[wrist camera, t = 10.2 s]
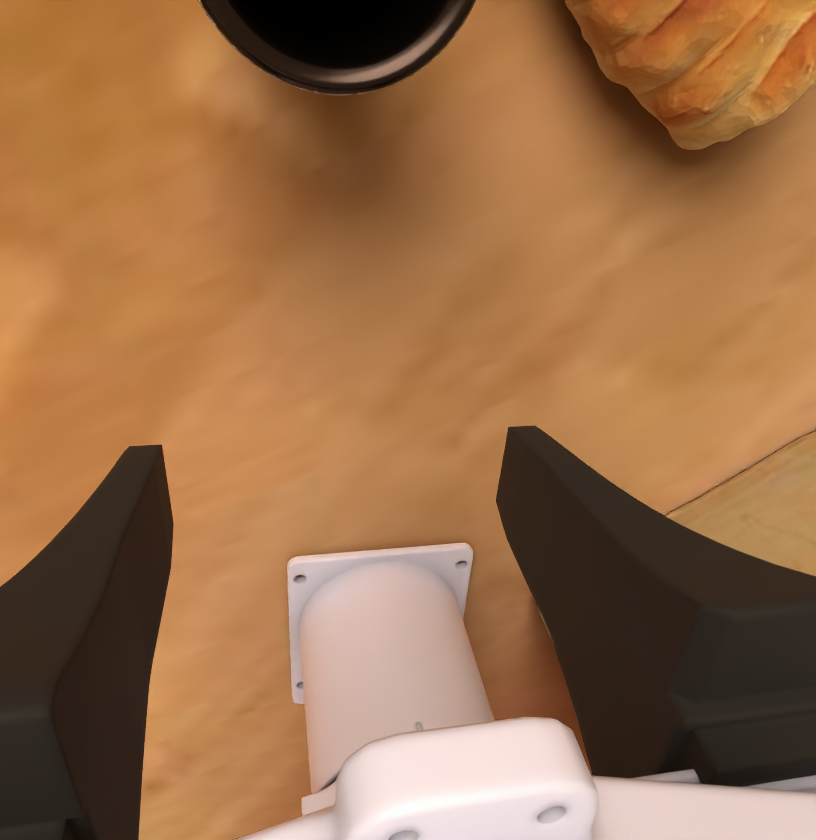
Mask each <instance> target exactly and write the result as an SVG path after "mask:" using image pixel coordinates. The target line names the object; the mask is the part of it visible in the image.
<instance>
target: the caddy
mask: <svg viewBox="0 0 816 840" xmlns="http://www.w3.org/2000/svg"><path fill="white" fill-rule="evenodd" d="M666 517H668V518H670V519H671V520H673V521H675V522H677V523H679V524H681V525H683V526H685V527H687V528H689V529H691V530H693V531H695V532H697V533H699V534H701V535H703V536H706V537H708V538H710V539H712V540H714V541H717V542H719V543H721V544H723V545H726V546H728V547H731V548H733V549H736V550H738V551H741V552H743V553H746V554H749V555H751V556H754V557H757V558H759V559H762V560H765V561H768V562H770V563H773V564H776V565H780V566H783V567H786V568H790V569H793V570H796V571H800V572H803V573H806V574H810V575H813V576H816V431H815V432H813V433H810V434H807V435H805V436H803V437H801V438H799V439H797V440H796V441H794V442H792V443H790V444H789V445H787V446H785V447H783V448H782V449H780V450H778V451H777V452H775V453H773V454H772V455H770V456H768V457H767V458H765V459H763V460H762V461H760V462H759V463H757V464H755V465H754V466H752V467H750V468H749V469H747V470H745V471H744V472H742V473H740V474H738V475H737V476H735V477H733V478H731V479H730V480H728V481H726V482H724V483H723V484H721V485H719V486H717V487H716V488H714V489H712V490H710V491H709V492H707V493H706V494H704V495H703V496H701V497H700V498H698V499H696V500H694V501H692V502H690V503H688V504H686V505H683V506H681V507H679V508H677V509H676V510H674V511H673V512H671V513H669V514H668V515H666ZM535 602H536V601H535ZM536 605H537V604H536ZM537 607H538V606H537ZM538 610H539V608H538ZM539 612H540V610H539ZM540 614H541V612H540ZM541 617H542V614H541ZM542 619H543V617H542ZM543 621H544V619H543ZM544 623H545V621H544ZM545 626H546V623H545ZM546 628H547V626H546ZM547 630H548V628H547ZM548 632H549V631H548ZM549 635H550V633H549ZM550 637H551V636H550ZM551 639H552V638H551Z"/></svg>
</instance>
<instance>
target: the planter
mask: <svg viewBox="0 0 816 840" xmlns="http://www.w3.org/2000/svg"><path fill="white" fill-rule="evenodd" d="M198 1H199V3H200V4H201V6H202V8H203V9H204V11H205V12H206V14H207V16H208V17H209V19H210V20H211V21H212V23H213V24H214V25H215V27H216V28H217V29H218V31H219V32H220V33H221V34H222V36H223V37H224V38H225V39H226V40H227V41H228V42H229V43H230V44H231V45H232V46H233V47H234V48H235V49H236V50H237V51H238V52H239V53H240V54H241V55H242V56H243V57H244V58H246V59H247V60H248V61H249V62H251V63H252V64H253V65H255V66H256V67H257V68H259V69H260V70H262V71H263V72H265V73H266V74H268V75H270V76H272V77H273V78H275V79H277V80H279V81H281V82H283V83H286V84H288V85H290V86H293V87H296V88H299V89H302V90H305V91H309V92H313V93H319V94H325V95H340V96H347V95H359V94H365V93H370V92H374V91H378V90H381V89H384V88H387V87H390V86H392V85H395V84H397V83H399V82H401V81H403V80H405V79H407V78H409V77H410V76H412V75H414V74H415V73H417V72H418V71H420V70H421V69H422V68H424V67H425V66H426V65H428V64H429V63H430V62H431V61H432V60H433V59H435V58H436V57H437V56H438V55H439V54H440V53H441V52H442V51H443V50H444V49H445V47H446V46H447V45H448V44H449V43H450V42H451V40H452V39H453V38H454V37H455V35H456V34H457V33H458V31H459V30H460V28H461V27H462V25H463V24H464V22H465V20H466V19H467V17H468V15H469V14H470V12H471V10H472V8H473V6H474V4H475V2H476V0H198Z"/></svg>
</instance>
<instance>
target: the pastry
mask: <svg viewBox="0 0 816 840" xmlns="http://www.w3.org/2000/svg"><path fill="white" fill-rule="evenodd" d="M565 4H566V6H567V8H568V9H569V10H570V11H571V12H572V14H573V16H574V18H575V20H576V21H577V23H578V24H579V26H580V27H581V32H582V37H583V39H584V40H585V41H586V42H587V43H588V44H589V45H590V46H591V48H592V51H593V53H594V55H595V57H596V60H597V63H598V66H599V67H600V69H601V70H602V72H603V73H604V75H605V76H606V77H607V78H608V79H609V80H611V81H612V82H615V83H618V84H621V85H623V86H625V87H627V88H628V89H629V90H630V92H631V93H632V94H633V95H634V96H635V98H636V99H637V100H638V101H639V102H640V104H641V105H642V106H643V107H644V108H645V109H646V110H647V111H648V112H649V113H651V114H652V115H653V116H654V117H656V118H657V119H658V120H659V121H660V122H661V123H662V124H663V125H664V126H665V127H666V128H667V130H668V131H669V133H670V135H671V137H672V139H673V140H674V142H675V143H676V144H677V145H678V146H679V147H681V148H684V149H689V150H697V149H703V148H706V147H708V146H710V145H712V144H714V143H716V142H718V141H729V140H731V139H733V138H734V137H736V136H738V135H739V134H741V133H742V132H743V131H745V130H746V129H749V128H755V127H759V126H761V125H764V124H766V123H768V122H770V121H772V120H773V119H775V118H777V117H778V116H779V115H781V114H782V113H783V112H784V111H786V110H787V109H788V108H789V107H790V106H791V105H792V104H793V103H794V102H795V101H797V100H798V99H799V98H800V97H801V96H803V95H804V94H805V93H806V92H807V90H808V89H809V88H810V87H811V86H813V85H814V84H815V82H816V0H565Z"/></svg>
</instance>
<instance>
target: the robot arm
mask: <svg viewBox="0 0 816 840" xmlns="http://www.w3.org/2000/svg"><path fill="white" fill-rule="evenodd" d="M496 503H497V506H498V510H499V513H500V517H501V521H502V524H503V527H504V530H505V534H506V537H507V540H508V542H509V544H510V547H511V549H512V551H513V554H514V556H515V558H516V560H517V562H518V565H519V567H520V569H521V571H522V573H523V576H524V578H525V580H526V582H527V584H528V586H529V589H530V591H531V593H532V595H533V597H534V599H535V601H536V604H537V606H538V608H539V610H540V612H541V614H542V617H543V619H544V621H545V623H546V626H547V628H548V631H549V633H550V636H551V638H552V641H553V644H554V647H555V650H556V653H557V656H558V659H559V662H560V665H561V668H562V671H563V674H564V677H565V680H566V684H567V687H568V690H569V693H570V697H571V700H572V703H573V707H574V710H575V713H576V716H577V720H578V723H579V727H580V731H581V734H582V738H583V742H584V745H585V749H586V753H587V756H588V760H589V763H590V767H591V771H592V775H593V776H592V775H591V774H590V772H589V769H588V767H587V764H586V762H585V759H584V757H583V755H582V752H581V750H580V747H579V745H578V742H577V740H576V738H575V735H574V733H573V730H572V729H570V728H569V727H567V726H566V725H564V724H563V723H561V722H559V721H558V720H556V719H553V718H549V717H519V718H511V719H504V720H496V721H495V720H494V717H493V714H492V711H491V707H490V704H489V701H488V698H487V695H486V692H485V689H484V685H483V682H482V679H481V676H480V673H479V670H478V667H477V663H476V660H475V657H474V654H473V651H472V648H471V645H470V641H469V638H468V635H467V632H466V629H465V626H464V623H463V618H464V612H465V605H466V599H467V593H468V586H469V580H470V574H471V567H472V561H473V550H472V548H471V546H470V545H469V544H467V543H452V544H440V545H428V546H416V547H403V548H391V549H379V550H367V551H355V552H342V553H330V554H318V555H306V556H297V557H294V558H292V559H290V560H289V562H288V564H287V579H288V606H289V634H290V661H291V689H292V700H293V702H294V703H296V704H305V717H306V730H307V743H308V756H309V769H310V782H311V794H310V795H307V796H304V797H303V798H302V799H301V806H302V816H300V817H297V818H294V819H292V820H289V821H286V822H283V823H280V824H277V825H274V826H271V827H268V828H266V829H263V830H260V831H257V832H254V833H251V834H248V835H245V836H242V837H240V838H237V839H233V840H816V576H813V575H810V574H806V573H803V572H800V571H796V570H793V569H790V568H786V567H783V566H780V565H776V564H773V563H770V562H768V561H765V560H762V559H759V558H757V557H754V556H751V555H749V554H746V553H743V552H741V551H738V550H736V549H733V548H731V547H728V546H726V545H723V544H721V543H719V542H717V541H714V540H712V539H710V538H708V537H706V536H703V535H701V534H699V533H697V532H695V531H693V530H691V529H689V528H687V527H685V526H683V525H681V524H679V523H677V522H675V521H673V520H671V519H670V518H668V517H666V516H664V515H662V514H661V513H659V512H657V511H655V510H653V509H652V508H650V507H648V506H647V505H645V504H643V503H642V502H640V501H638V500H637V499H635V498H634V497H632V496H631V495H629V494H628V493H626V492H625V491H623V490H622V489H620V488H619V487H617V486H616V485H614V484H613V483H611V482H610V481H609V480H607V479H606V478H604V477H603V476H602V475H600V474H599V473H597V472H596V471H595V470H593V469H592V468H591V467H589V466H588V465H587V464H585V463H584V462H583V461H581V460H580V459H579V458H577V457H576V456H575V455H574V454H572V453H571V452H570V451H568V450H567V449H566V448H564V447H563V446H562V445H561V444H559V443H558V442H557V441H555V440H554V439H553V438H552V437H550V436H549V435H548V434H546V433H545V432H543V431H542V430H541V429H539V428H538V427H536V426H520V427H508V433H507V439H506V444H505V450H504V456H503V462H502V468H501V474H500V479H499V485H498V491H497V497H496ZM172 541H173V517H172V510H171V503H170V497H169V490H168V483H167V476H166V470H165V463H164V456H163V450H162V445H147V446H129V447H128V448H127V449H126V450H125V451H124V453H123V454H122V455H121V457H120V458H119V460H118V461H117V462H116V464H115V465H114V467H113V468H112V469H111V471H110V472H109V474H108V475H107V476H106V478H105V479H104V480H103V481H102V483H101V484H100V485H99V487H98V488H97V489H96V491H95V492H94V493H93V494H92V495H91V497H90V498H89V499H88V500H87V502H86V503H85V504H84V505H83V506H82V508H81V509H80V510H79V511H78V512H77V514H76V515H75V516H74V517H73V518H72V519H71V520H70V521H69V523H68V524H67V525H66V526H65V527H64V528H63V529H62V530H61V531H60V532H59V533H58V534H57V535H56V537H55V538H54V539H53V540H52V541H51V542H50V543H49V544H48V545H47V546H46V547H45V548H44V549H43V550H42V551H41V552H40V553H39V554H38V555H37V556H36V557H35V558H34V559H33V560H32V561H30V562H29V563H28V564H27V565H26V566H25V567H24V568H23V569H22V570H20V571H19V572H18V573H17V574H16V575H15V576H14V577H12V578H11V579H10V580H9V581H7V582H6V583H5V584H3V585H2V586H1V587H0V840H138V836H139V819H140V802H141V785H142V770H143V756H144V742H145V728H146V716H147V705H148V693H149V682H150V675H151V669H152V662H153V657H154V652H155V647H156V642H157V637H158V631H159V626H160V621H161V616H162V611H163V606H164V601H165V596H166V590H167V585H168V580H169V575H170V569H171V557H172ZM459 561H463V562H461V563H458V562H459ZM297 575H303V576H302V577H296V576H297Z"/></svg>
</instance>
